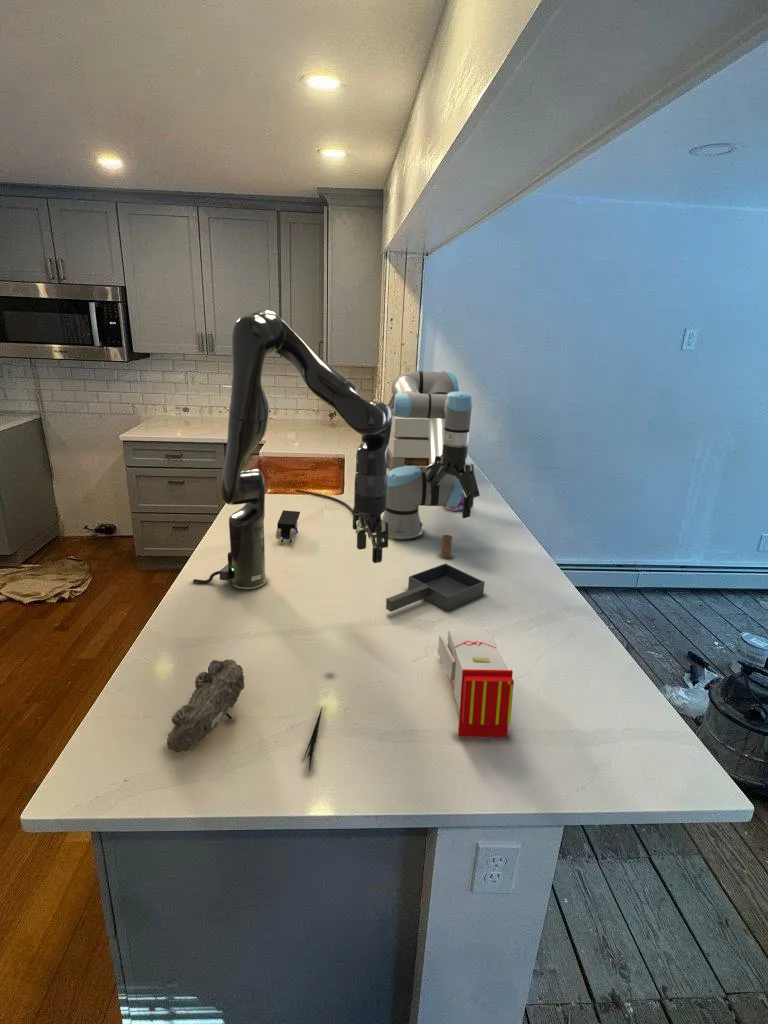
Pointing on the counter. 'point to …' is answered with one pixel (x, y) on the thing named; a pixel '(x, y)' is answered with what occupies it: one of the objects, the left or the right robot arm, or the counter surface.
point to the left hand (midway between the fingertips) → (369, 555)
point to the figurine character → (287, 525)
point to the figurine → (459, 506)
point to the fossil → (206, 705)
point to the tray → (439, 588)
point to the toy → (478, 682)
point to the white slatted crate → (407, 441)
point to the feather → (313, 740)
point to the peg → (446, 546)
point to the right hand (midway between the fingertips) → (449, 511)
